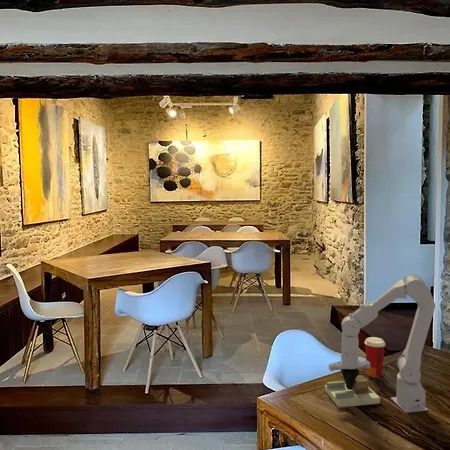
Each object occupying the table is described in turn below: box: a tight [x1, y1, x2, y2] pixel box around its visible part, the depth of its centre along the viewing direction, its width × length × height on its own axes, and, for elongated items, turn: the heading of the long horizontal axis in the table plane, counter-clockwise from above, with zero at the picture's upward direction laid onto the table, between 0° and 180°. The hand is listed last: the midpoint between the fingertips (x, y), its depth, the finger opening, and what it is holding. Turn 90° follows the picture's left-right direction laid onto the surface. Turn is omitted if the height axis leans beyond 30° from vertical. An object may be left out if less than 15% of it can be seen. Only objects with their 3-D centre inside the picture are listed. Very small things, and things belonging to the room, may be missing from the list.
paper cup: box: [363, 336, 386, 379], centre depth 171 cm, size 8×8×14 cm
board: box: [324, 380, 381, 408], centre depth 154 cm, size 12×15×4 cm
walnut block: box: [352, 375, 370, 394], centre depth 154 cm, size 4×4×4 cm
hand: (349, 388), depth 154 cm, fingers closed
